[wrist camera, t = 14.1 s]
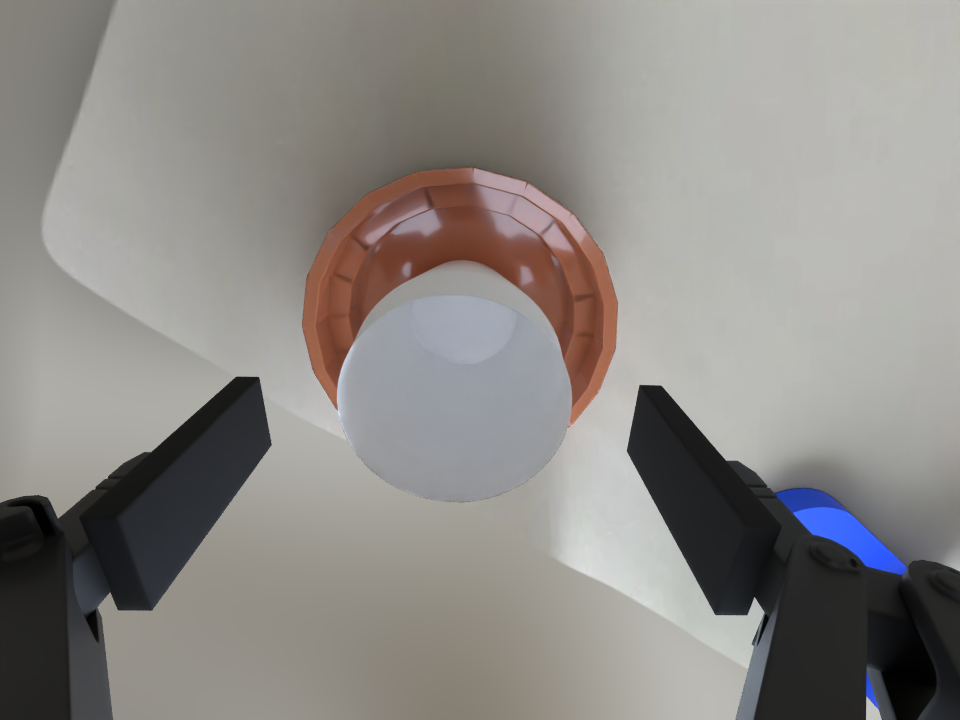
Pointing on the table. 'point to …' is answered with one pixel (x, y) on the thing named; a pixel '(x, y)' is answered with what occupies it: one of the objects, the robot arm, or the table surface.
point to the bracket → (840, 533)
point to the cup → (455, 386)
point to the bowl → (463, 236)
